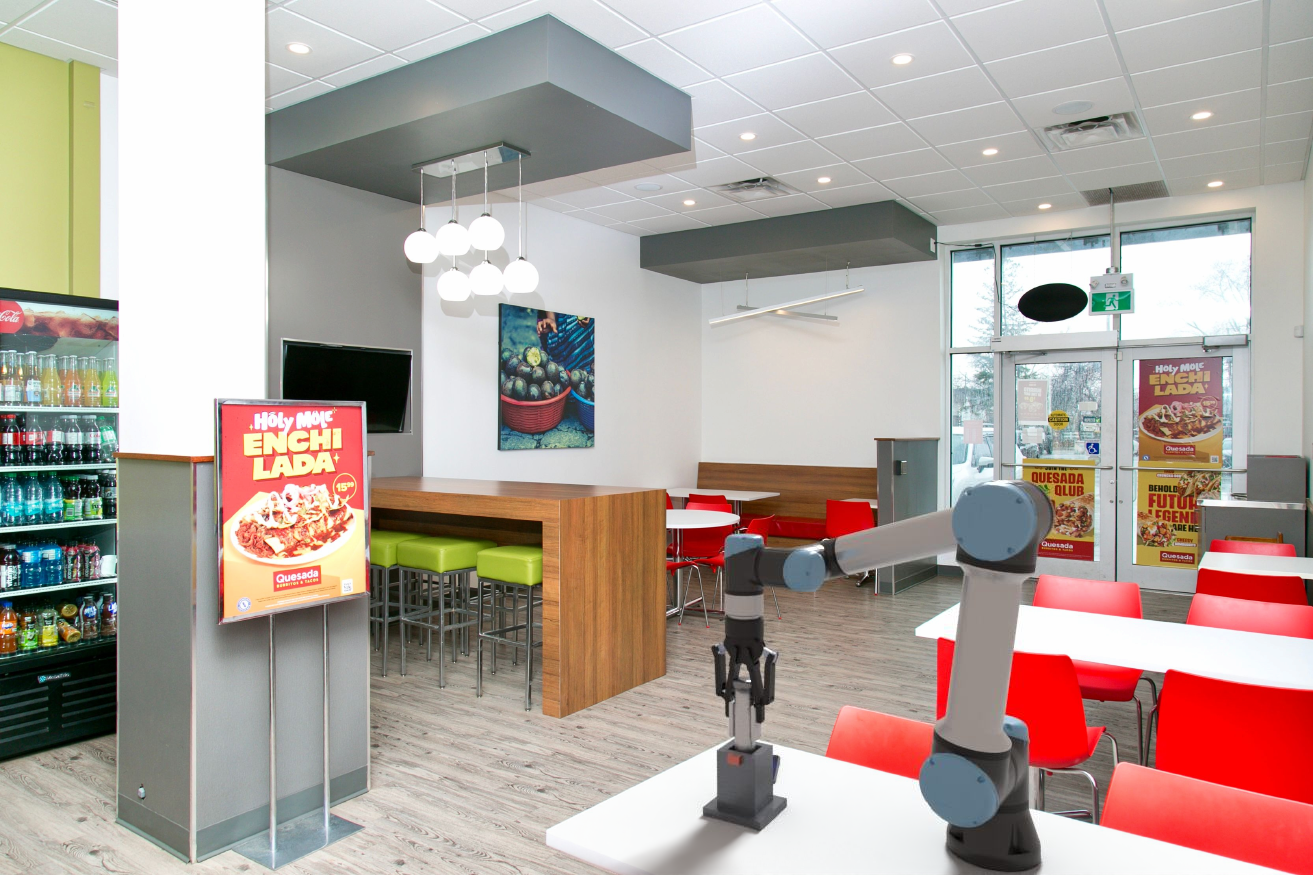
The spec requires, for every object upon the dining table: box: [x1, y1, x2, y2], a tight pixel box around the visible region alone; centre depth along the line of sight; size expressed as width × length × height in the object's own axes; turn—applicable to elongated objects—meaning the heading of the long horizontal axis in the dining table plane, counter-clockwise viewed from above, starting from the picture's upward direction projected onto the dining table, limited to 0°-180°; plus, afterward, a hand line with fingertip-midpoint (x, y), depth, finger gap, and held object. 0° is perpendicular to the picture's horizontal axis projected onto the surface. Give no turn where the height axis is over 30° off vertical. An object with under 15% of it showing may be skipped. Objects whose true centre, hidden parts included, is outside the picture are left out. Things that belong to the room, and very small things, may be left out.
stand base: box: [702, 737, 788, 832], centre depth 156 cm, size 12×12×12 cm
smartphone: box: [773, 754, 781, 785], centre depth 176 cm, size 7×1×15 cm
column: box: [732, 675, 756, 754], centre depth 156 cm, size 5×5×23 cm
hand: (744, 736), depth 156 cm, fingers closed on column, 4 cm apart
